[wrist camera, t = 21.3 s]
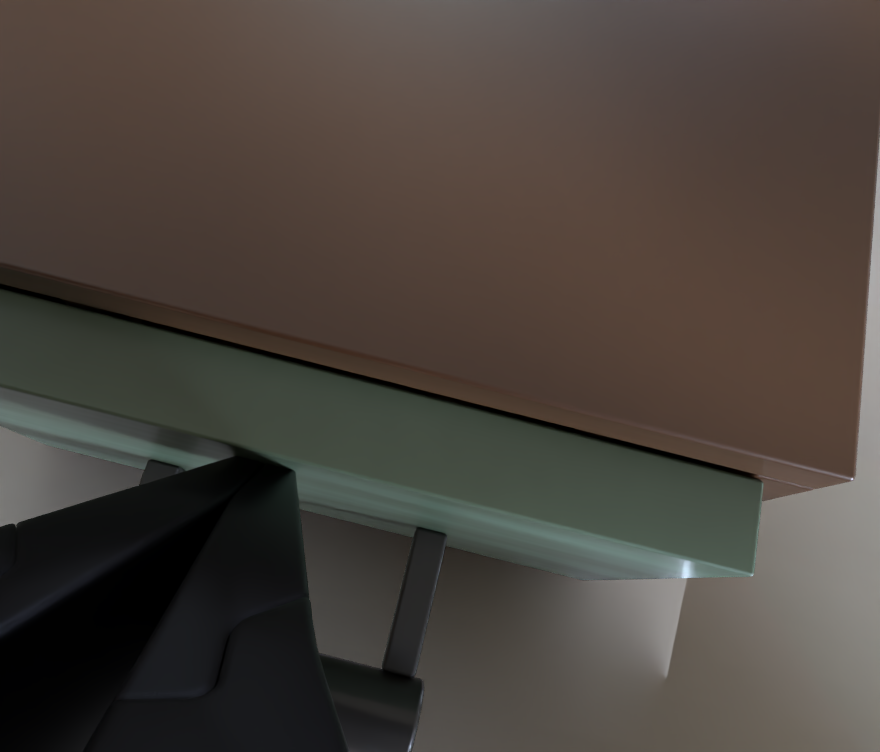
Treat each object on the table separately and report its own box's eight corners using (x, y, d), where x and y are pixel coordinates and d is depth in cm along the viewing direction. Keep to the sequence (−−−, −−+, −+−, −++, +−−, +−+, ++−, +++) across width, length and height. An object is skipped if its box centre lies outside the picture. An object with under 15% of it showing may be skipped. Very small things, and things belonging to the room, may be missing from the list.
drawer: (550, 770, 15) (715, 954, 8) (-28, 624, 15) (-440, 664, 8) (659, 149, 19) (830, -124, 12) (212, 36, 19) (104, -308, 12)
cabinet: (607, 536, 17) (858, 481, 8) (58, 398, 17) (-315, 186, 8) (679, 106, 21) (910, -270, 12) (225, -9, 21) (99, -475, 12)
